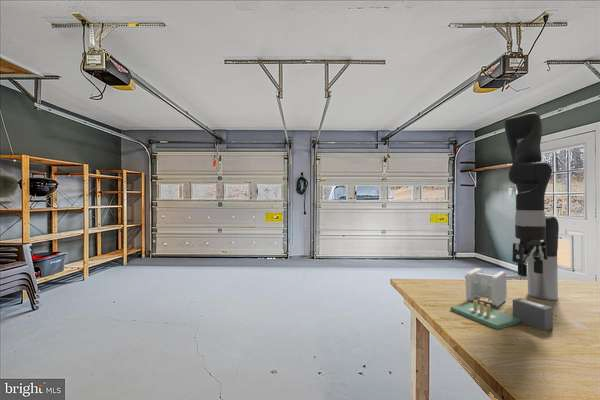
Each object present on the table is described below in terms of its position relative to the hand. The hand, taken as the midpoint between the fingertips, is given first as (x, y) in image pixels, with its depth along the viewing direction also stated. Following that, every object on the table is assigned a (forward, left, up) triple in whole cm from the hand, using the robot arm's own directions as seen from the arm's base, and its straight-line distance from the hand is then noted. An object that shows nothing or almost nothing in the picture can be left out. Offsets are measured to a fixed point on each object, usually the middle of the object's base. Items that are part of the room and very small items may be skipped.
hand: (530, 274), depth 87 cm
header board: (+8, -10, -16) cm, 20 cm away
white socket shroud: (-7, -19, -16) cm, 26 cm away
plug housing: (0, 0, -16) cm, 16 cm away
